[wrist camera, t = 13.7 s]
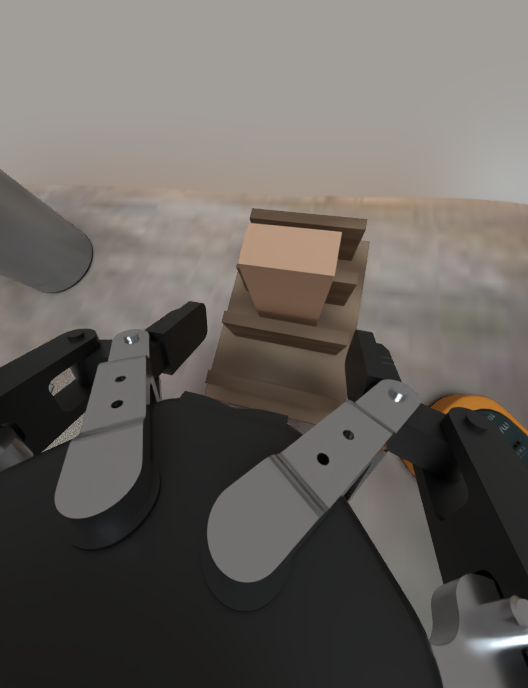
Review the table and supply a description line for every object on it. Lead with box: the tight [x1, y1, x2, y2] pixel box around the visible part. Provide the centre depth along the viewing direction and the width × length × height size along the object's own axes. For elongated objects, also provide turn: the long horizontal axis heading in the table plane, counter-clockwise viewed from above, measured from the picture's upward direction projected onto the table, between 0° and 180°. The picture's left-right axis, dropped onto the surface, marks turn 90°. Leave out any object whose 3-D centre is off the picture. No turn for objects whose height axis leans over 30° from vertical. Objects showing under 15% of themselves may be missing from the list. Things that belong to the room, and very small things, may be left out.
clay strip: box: [238, 223, 342, 327], centre depth 17 cm, size 2×5×11 cm, turn 78°
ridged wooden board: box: [204, 208, 370, 425], centre depth 21 cm, size 19×13×6 cm
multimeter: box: [402, 395, 528, 477], centre depth 17 cm, size 9×18×3 cm, turn 40°
